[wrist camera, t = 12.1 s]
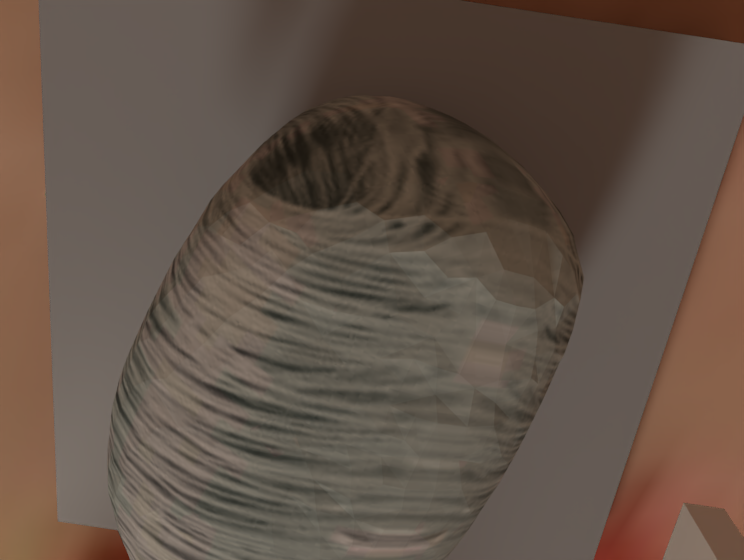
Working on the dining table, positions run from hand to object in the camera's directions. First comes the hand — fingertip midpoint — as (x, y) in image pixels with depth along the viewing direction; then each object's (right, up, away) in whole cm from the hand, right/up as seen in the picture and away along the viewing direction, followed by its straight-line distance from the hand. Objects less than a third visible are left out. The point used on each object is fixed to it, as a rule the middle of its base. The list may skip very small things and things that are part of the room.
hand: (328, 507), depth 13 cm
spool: (0, +3, +7) cm, 8 cm away
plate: (0, +4, +9) cm, 9 cm away
